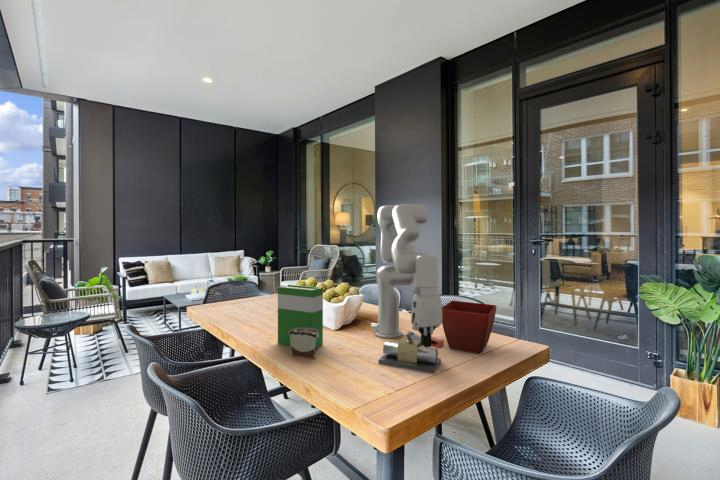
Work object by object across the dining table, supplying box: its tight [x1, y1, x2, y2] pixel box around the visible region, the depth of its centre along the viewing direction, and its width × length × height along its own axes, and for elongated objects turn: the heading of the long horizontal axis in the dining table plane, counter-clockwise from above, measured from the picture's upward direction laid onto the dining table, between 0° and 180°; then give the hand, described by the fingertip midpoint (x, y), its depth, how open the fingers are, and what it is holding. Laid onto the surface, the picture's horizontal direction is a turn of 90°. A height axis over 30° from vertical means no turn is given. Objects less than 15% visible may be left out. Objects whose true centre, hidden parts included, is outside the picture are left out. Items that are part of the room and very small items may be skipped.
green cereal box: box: [277, 284, 324, 349], centre depth 151 cm, size 18×7×24 cm, turn 63°
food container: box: [288, 327, 319, 360], centre depth 137 cm, size 12×6×10 cm, turn 71°
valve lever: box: [405, 331, 445, 350], centre depth 125 cm, size 15×3×2 cm, turn 42°
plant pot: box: [441, 300, 497, 354], centre depth 148 cm, size 19×19×17 cm
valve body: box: [378, 336, 442, 374], centre depth 130 cm, size 20×11×9 cm, turn 64°
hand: (426, 345), depth 121 cm, fingers closed
